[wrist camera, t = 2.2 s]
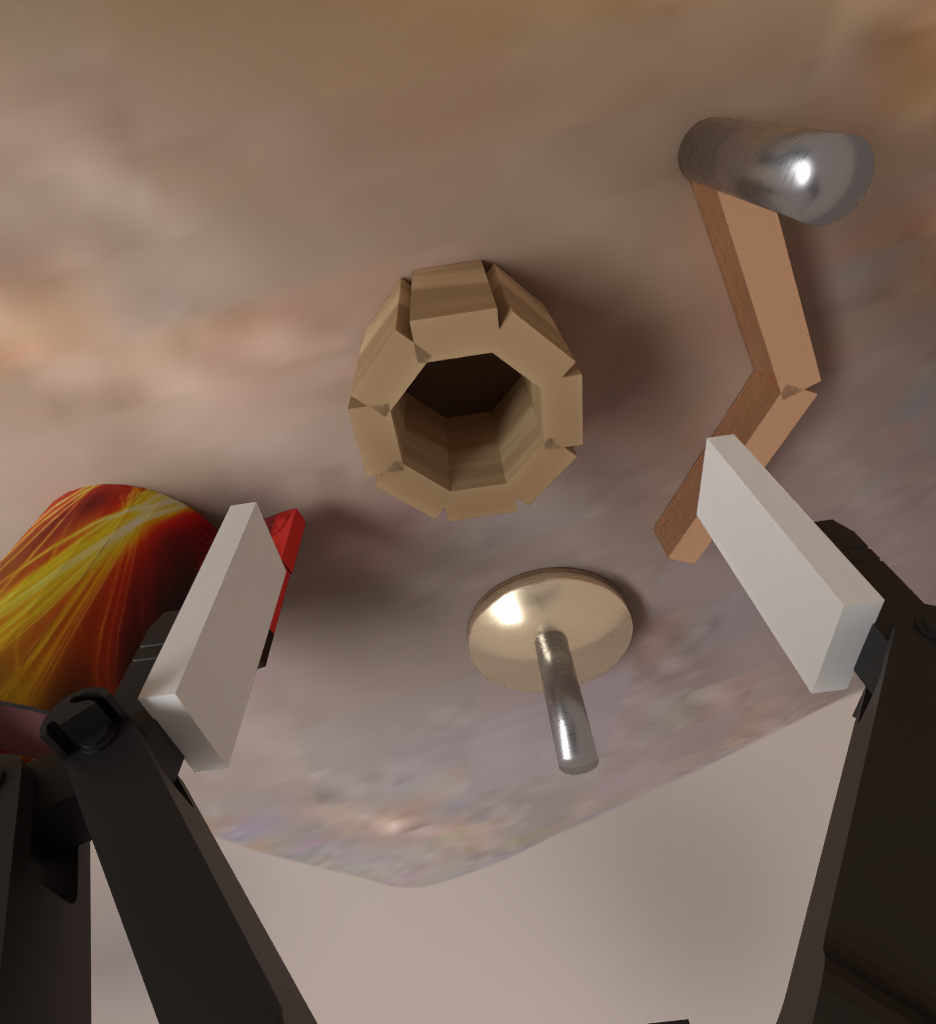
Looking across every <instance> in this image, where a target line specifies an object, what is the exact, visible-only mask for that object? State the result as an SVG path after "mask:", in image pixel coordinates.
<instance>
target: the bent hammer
mask: <svg viewBox="0 0 936 1024" xmlns="http://www.w3.org/2000/svg"><path fill="white" fill-rule="evenodd" d="M678 162H679V167H680V170H681V172H682V174H683V175H684V177H686V178H687V179H688V180H690V181H691V184H692V187H693V190H694V193H695V196H696V199H697V202H698V205H699V208H700V211H701V214H702V217H703V220H704V222H705V225H706V228H707V231H708V234H709V237H710V240H711V243H712V246H713V249H714V252H715V255H716V258H717V261H718V264H719V267H720V270H721V273H722V276H723V279H724V282H725V284H726V287H727V290H728V293H729V296H730V299H731V302H732V305H733V308H734V311H735V314H736V317H737V320H738V323H739V326H740V329H741V332H742V335H743V338H744V341H745V343H746V346H747V349H748V352H749V355H750V358H751V361H752V364H753V367H754V372H753V374H752V375H751V377H750V378H749V380H748V381H747V383H746V385H745V386H744V388H743V389H742V391H741V392H740V394H739V395H738V397H737V399H736V400H735V402H734V403H733V405H732V406H731V408H730V410H729V411H728V413H727V414H726V416H725V417H724V419H723V421H722V422H721V424H720V425H719V427H718V428H717V430H716V432H715V433H714V435H713V436H712V437H717V436H724V435H731V434H734V435H735V436H736V437H737V438H738V439H739V440H740V441H741V442H742V444H743V445H744V446H745V447H746V448H747V449H748V450H749V451H750V452H751V453H752V455H753V456H754V457H755V458H756V459H757V460H758V461H759V462H760V463H761V464H762V466H763V467H764V468H765V466H766V465H767V464H768V462H769V461H770V459H771V458H772V457H773V455H774V454H775V453H776V451H777V450H778V448H779V447H780V446H781V444H782V443H783V441H784V440H785V439H786V437H787V436H788V435H789V433H790V432H791V430H792V429H793V428H794V426H795V425H796V423H797V422H798V421H799V419H800V418H801V417H802V415H803V414H804V412H805V411H806V410H807V408H808V407H809V406H810V404H811V403H812V401H813V400H814V399H815V397H816V396H817V393H816V392H815V391H813V390H812V389H811V388H809V387H810V386H812V385H814V384H816V383H818V382H820V381H821V378H820V374H819V370H818V366H817V362H816V359H815V355H814V351H813V347H812V343H811V339H810V336H809V332H808V328H807V324H806V320H805V317H804V313H803V309H802V305H801V301H800V298H799V294H798V290H797V286H796V282H795V279H794V275H793V271H792V267H791V263H790V260H789V256H788V252H787V248H786V244H785V240H784V237H783V233H782V229H781V225H780V221H779V218H778V214H777V213H779V214H782V215H784V216H787V217H790V218H793V219H795V220H798V221H801V222H804V223H806V224H809V225H816V226H819V225H826V224H829V223H832V222H834V221H836V220H838V219H840V218H842V217H843V216H845V215H846V214H847V213H848V212H850V211H851V210H852V209H853V208H854V207H855V206H856V205H857V204H858V202H859V201H860V200H861V198H862V197H863V195H864V194H865V192H866V190H867V188H868V186H869V184H870V182H871V178H872V175H873V170H874V156H873V152H872V149H871V147H870V145H869V144H868V142H867V141H866V140H864V139H863V138H862V137H860V136H857V135H853V134H845V133H837V132H828V131H820V130H812V129H803V128H795V127H787V126H778V125H770V124H762V123H753V122H745V121H737V120H728V119H720V118H708V119H704V120H702V121H700V122H698V123H697V124H695V125H694V126H693V127H692V128H691V129H690V130H689V131H688V133H687V134H686V135H685V137H684V139H683V141H682V143H681V146H680V149H679V155H678ZM705 448H706V447H705ZM704 456H705V449H704V450H703V452H702V454H701V455H700V457H699V458H698V460H697V461H696V463H695V464H694V466H693V468H692V469H691V471H690V472H689V474H688V475H687V477H686V479H685V480H684V482H683V483H682V485H681V486H680V488H679V490H678V491H677V493H676V494H675V496H674V497H673V499H672V501H671V502H670V504H669V505H668V507H667V508H666V510H665V512H664V513H663V515H662V516H661V518H660V519H659V521H658V523H657V524H656V526H655V527H654V529H653V530H654V532H655V534H656V536H657V538H658V540H659V542H660V544H661V545H662V547H663V549H664V551H665V553H666V555H667V557H668V558H669V559H674V560H678V561H683V562H688V563H692V564H695V563H696V562H697V560H698V559H699V558H700V556H701V555H702V553H703V552H704V551H705V549H706V548H707V546H708V545H709V544H710V542H711V541H712V540H713V539H712V538H711V536H710V535H709V533H708V532H707V530H706V529H705V527H704V525H703V524H702V522H701V521H700V519H699V518H698V516H697V508H698V501H699V493H700V486H701V478H702V471H703V463H704Z"/></svg>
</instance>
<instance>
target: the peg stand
mask: <svg viewBox="0 0 936 1024" xmlns="http://www.w3.org/2000/svg"><path fill="white" fill-rule="evenodd" d="M632 633H633V623H632V619H631V615H630V613H629V610H628V608H627V605H626V603H625V600H624V598H623V596H622V594H621V593H620V592H619V590H618V589H617V588H616V587H615V586H614V585H613V584H612V583H610V582H609V581H607V580H606V579H605V578H603V577H601V576H599V575H597V574H594V573H591V572H588V571H584V570H579V569H573V568H546V569H539V570H534V571H530V572H526V573H523V574H520V575H517V576H515V577H512V578H510V579H508V580H506V581H504V582H502V583H501V584H499V585H498V586H496V587H495V588H493V589H492V590H491V591H489V592H488V593H487V594H486V595H485V596H484V597H483V598H482V599H481V600H480V601H479V602H478V604H477V605H476V607H475V608H474V610H473V612H472V614H471V616H470V619H469V623H468V642H469V653H470V656H471V660H472V662H473V663H474V665H475V667H476V668H477V669H478V671H479V672H480V673H481V674H483V675H484V676H485V677H486V678H488V679H489V680H491V681H492V682H494V683H496V684H498V685H501V686H503V687H506V688H509V689H513V690H518V691H524V692H544V694H545V699H546V704H547V709H548V714H549V719H550V724H551V729H552V734H553V739H554V744H555V749H556V754H557V759H558V764H559V769H560V770H561V771H562V772H564V773H566V774H571V775H578V774H584V773H587V772H589V771H591V770H593V769H595V768H596V767H597V765H598V763H599V759H598V755H597V752H596V748H595V744H594V740H593V736H592V732H591V729H590V725H589V721H588V717H587V713H586V709H585V706H584V702H583V698H582V694H581V690H580V686H579V685H581V684H584V683H586V682H588V681H590V680H593V679H594V678H596V677H598V676H600V675H601V674H603V673H604V672H606V671H607V670H609V669H610V668H611V667H612V666H614V665H615V664H616V663H617V662H618V661H619V660H620V659H621V657H622V656H623V655H624V653H625V652H626V650H627V648H628V646H629V644H630V641H631V639H632Z"/></svg>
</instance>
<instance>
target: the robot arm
mask: <svg viewBox="0 0 936 1024" xmlns="http://www.w3.org/2000/svg"><path fill="white" fill-rule="evenodd" d="M697 516H698V518H699V519H700V521H701V522H702V524H703V525H704V527H705V529H706V530H707V532H708V533H709V535H710V536H711V538H712V539H713V541H714V543H715V544H716V546H717V547H718V549H719V550H720V552H721V553H722V555H723V557H724V558H725V560H726V561H727V563H728V564H729V566H730V567H731V569H732V571H733V572H734V574H735V575H736V577H737V578H738V580H739V581H740V583H741V584H742V586H743V588H744V589H745V591H746V592H747V594H748V595H749V597H750V598H751V600H752V602H753V603H754V605H755V606H756V608H757V609H758V611H759V612H760V614H761V616H762V617H763V619H764V620H765V622H766V623H767V625H768V626H769V628H770V630H771V631H772V633H773V634H774V636H775V637H776V639H777V640H778V642H779V644H780V645H781V647H782V648H783V650H784V651H785V653H786V654H787V656H788V657H789V659H790V661H791V662H792V664H793V665H794V667H795V668H796V670H797V671H798V673H799V675H800V676H801V678H802V679H803V681H804V682H805V684H806V685H807V687H808V689H809V690H810V692H811V693H819V692H827V691H835V690H843V689H847V688H848V685H849V683H850V681H851V678H852V676H853V673H854V671H855V672H856V674H857V675H858V676H859V678H860V679H861V681H862V682H863V683H864V685H865V686H866V687H865V689H864V691H863V694H862V696H861V698H860V700H859V703H858V705H857V707H856V709H855V711H854V714H853V717H855V718H856V721H855V724H854V728H853V732H852V736H851V740H850V744H849V748H848V752H847V756H846V759H845V763H844V767H843V771H842V775H841V779H840V783H839V787H838V791H837V795H836V799H835V803H834V807H833V811H832V815H831V819H830V822H829V826H828V830H827V834H826V838H825V842H824V846H823V850H822V854H821V858H820V862H819V866H818V870H817V874H816V878H815V882H814V886H813V890H812V894H811V897H810V901H809V905H808V909H807V913H806V917H805V921H804V925H803V929H802V933H801V937H800V941H799V945H798V949H797V953H796V957H795V961H794V964H793V968H792V972H791V976H790V980H789V984H788V988H787V992H786V996H785V999H784V1003H783V1006H782V1009H781V1012H780V1015H779V1018H778V1020H777V1023H776V1024H936V606H933V605H928V604H924V603H923V602H922V601H921V600H920V599H919V598H918V597H917V596H916V595H915V594H914V593H913V592H912V591H911V589H910V588H909V587H908V586H907V585H906V584H905V583H904V582H903V581H902V580H901V579H900V578H899V577H898V576H897V575H896V574H895V573H894V572H893V571H892V570H891V569H890V568H889V567H888V566H887V565H886V564H885V563H884V562H883V561H880V558H879V557H878V556H877V555H876V554H875V553H874V552H873V551H872V550H871V549H868V546H867V545H866V544H865V543H864V542H863V541H862V540H861V538H860V537H859V536H858V535H857V534H856V533H855V532H854V531H852V530H850V529H848V528H847V527H845V526H843V525H841V524H839V523H838V522H836V521H834V520H825V521H818V522H813V521H812V520H811V518H810V517H809V516H808V515H807V514H806V513H805V512H804V511H803V510H802V509H801V507H800V506H799V505H798V504H797V503H796V502H795V501H794V500H793V499H792V498H791V496H790V495H789V494H788V493H787V492H786V491H785V490H784V489H783V488H782V487H781V485H780V484H779V483H778V482H777V481H776V480H775V479H774V478H773V477H772V476H771V474H770V473H769V472H768V471H767V470H766V469H765V468H764V467H763V466H762V464H761V463H760V462H759V461H758V460H757V459H756V458H755V457H754V456H753V455H752V453H751V452H750V451H749V450H748V449H747V448H746V447H745V446H744V445H743V444H742V442H741V441H740V440H739V439H738V438H737V437H736V436H735V435H734V434H731V435H724V436H717V437H710V438H707V441H706V448H705V456H704V463H703V471H702V478H701V486H700V493H699V501H698V508H697ZM285 574H286V570H285V567H284V565H283V563H282V560H281V558H280V556H279V553H278V551H277V549H276V546H275V544H274V542H273V539H272V537H271V535H270V533H269V530H268V528H267V526H266V523H265V521H264V519H263V516H262V514H261V512H260V509H259V507H258V505H257V502H252V503H245V504H238V505H231V506H230V508H229V510H228V512H227V514H226V516H225V518H224V521H223V523H222V525H221V527H220V529H219V531H218V533H217V535H216V537H215V539H214V541H213V543H212V545H211V547H210V550H209V552H208V554H207V556H206V558H205V560H204V562H203V564H202V566H201V568H200V570H199V572H198V574H197V577H196V579H195V581H194V583H193V585H192V587H191V589H190V591H189V593H188V595H187V597H186V599H185V601H184V603H183V606H182V608H181V610H176V611H169V612H164V613H163V614H162V615H161V616H160V617H159V618H158V620H157V621H156V622H155V623H154V624H153V625H152V626H151V627H150V628H149V629H148V631H147V633H146V635H145V637H144V639H143V640H142V642H141V644H140V649H138V650H137V652H136V654H135V656H134V658H133V659H132V660H133V663H130V665H129V667H128V669H127V671H126V673H125V675H124V677H123V679H122V680H121V682H120V684H119V686H118V688H117V690H116V692H115V694H114V696H113V695H112V694H111V693H110V692H109V691H108V690H107V689H105V688H102V687H90V688H86V689H81V690H79V691H77V692H75V693H73V694H71V695H69V696H67V697H66V698H65V699H63V700H62V701H61V702H59V703H58V704H57V705H55V706H54V708H53V709H52V710H51V711H50V712H49V713H48V714H47V715H46V716H45V718H44V720H43V722H42V724H41V726H40V738H41V739H42V740H43V741H44V742H45V743H46V744H47V745H48V746H49V747H50V748H51V749H52V750H53V751H54V753H52V754H49V755H47V756H44V757H42V758H39V759H37V760H34V761H32V762H29V763H27V764H26V763H25V762H24V761H22V760H21V759H20V758H19V757H17V756H16V755H14V754H0V1024H91V915H90V914H91V913H90V912H91V909H90V904H91V903H90V841H91V840H92V841H93V844H94V846H95V849H96V852H97V854H98V857H99V860H100V863H101V866H102V868H103V871H104V874H105V876H106V879H107V882H108V885H109V887H110V890H111V893H112V896H113V898H114V901H115V904H116V907H117V909H118V912H119V915H120V917H121V920H122V923H123V925H124V929H125V931H126V934H127V937H128V940H129V942H130V945H131V948H132V951H133V953H134V956H135V959H136V961H137V964H138V967H139V970H140V972H141V975H142V978H143V981H144V983H145V986H146V989H147V992H148V994H149V997H150V1000H151V1002H152V1005H153V1008H154V1011H155V1013H156V1016H157V1019H158V1022H159V1024H317V1022H316V1020H315V1019H314V1017H313V1015H312V1013H311V1011H310V1009H309V1008H308V1006H307V1004H306V1002H305V1001H304V999H303V997H302V995H301V993H300V991H299V990H298V988H297V986H296V984H295V982H294V981H293V979H292V977H291V975H290V973H289V972H288V970H287V968H286V966H285V964H284V963H283V961H282V959H281V957H280V956H279V954H278V952H277V950H276V948H275V946H274V945H273V943H272V941H271V939H270V937H269V936H268V934H267V932H266V930H265V928H264V927H263V925H262V923H261V921H260V919H259V918H258V916H257V914H256V912H255V910H254V909H253V907H252V905H251V903H250V902H249V900H248V898H247V896H246V894H245V892H244V891H243V889H242V887H241V885H240V883H239V882H238V880H237V878H236V876H235V874H234V873H233V871H232V869H231V867H230V865H229V864H228V862H227V860H226V858H225V856H224V855H223V853H222V851H221V849H220V847H219V845H218V844H217V842H216V840H215V838H214V836H213V835H212V833H211V831H210V829H209V827H208V826H207V824H206V822H205V820H204V818H203V817H202V815H201V813H200V811H199V809H198V808H197V806H196V804H195V802H194V800H193V799H192V797H191V795H190V793H189V791H188V790H187V788H186V786H185V784H184V782H183V781H182V780H181V779H180V777H179V776H178V773H179V770H180V768H181V765H182V762H183V760H184V759H185V760H186V762H187V763H188V764H189V765H190V767H191V768H192V769H193V771H194V772H200V771H208V770H216V769H224V768H228V765H229V762H230V759H231V755H232V752H233V748H234V745H235V742H236V738H237V735H238V732H239V728H240V725H241V722H242V718H243V715H244V712H245V708H246V705H247V702H248V698H249V695H250V691H251V688H252V685H253V681H254V678H255V675H256V671H257V668H258V665H259V661H260V658H261V655H262V651H263V648H264V645H265V641H266V638H267V634H268V631H269V628H270V624H271V621H272V618H273V614H274V611H275V608H276V604H277V601H278V598H279V594H280V591H281V587H282V584H283V581H284V577H285ZM650 1024H689V1020H688V1019H687V1020H677V1021H668V1022H659V1023H650Z"/></svg>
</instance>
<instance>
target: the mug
mask: <svg viewBox="0 0 936 1024" xmlns="http://www.w3.org/2000/svg"><path fill="white" fill-rule="evenodd" d="M264 521H265V523H266V526H267V528H268V530H269V533H270V535H271V537H272V539H273V542H274V544H275V546H276V549H277V551H278V553H279V556H280V558H281V560H282V563H283V565H284V567H285V570H286V574H285V577H284V581H283V584H282V587H281V591H280V594H279V598H278V601H277V604H276V608H275V611H274V614H273V618H272V621H271V624H270V628H269V631H268V634H267V638H266V641H265V645H264V648H263V651H262V655H261V658H260V661H259V665H258V668H257V669H259V668H262V667H265V666H266V663H267V659H268V655H269V651H270V648H271V644H272V640H273V636H274V633H275V629H276V625H277V622H278V618H279V614H280V610H281V607H282V603H283V599H284V595H285V592H286V588H287V584H288V581H289V577H290V574H292V573H293V569H294V565H295V561H296V558H297V554H298V550H299V546H300V542H301V539H302V535H303V531H304V527H305V523H306V522H305V520H304V519H303V517H302V516H301V514H300V513H299V511H298V510H297V508H294V509H291V510H287V511H284V512H281V513H278V514H276V515H274V516H271V517H269V518H266V519H264ZM217 533H218V531H217V530H216V528H215V527H214V526H213V525H212V524H211V523H210V522H208V521H207V520H206V519H205V518H204V517H203V516H202V515H201V514H199V513H198V512H196V511H194V510H193V509H191V508H190V507H188V506H187V505H185V504H184V503H182V502H179V501H177V500H175V499H173V498H171V497H169V496H167V495H164V494H161V493H158V492H155V491H151V490H148V489H145V488H140V487H134V486H128V485H113V484H101V485H94V486H87V487H82V488H79V489H77V490H74V491H71V492H68V493H66V494H64V495H63V496H61V497H60V498H58V499H57V500H55V501H54V502H53V503H52V504H51V505H50V506H49V507H48V508H47V510H46V511H45V512H44V513H43V514H42V515H41V516H40V517H39V519H38V520H37V521H36V522H35V523H34V524H33V525H32V527H31V528H30V529H29V530H28V531H27V532H26V533H25V535H24V536H23V537H22V538H21V539H20V540H19V541H18V542H17V544H16V545H15V546H14V547H13V548H12V549H11V550H10V552H9V553H8V554H7V555H6V556H5V557H4V558H3V560H2V561H1V562H0V754H14V755H16V756H17V757H19V758H20V759H21V760H22V761H24V762H25V763H26V764H27V763H29V762H32V761H34V760H37V759H39V758H42V757H44V756H47V755H49V754H52V753H54V751H53V750H52V749H51V748H50V747H49V746H48V745H47V744H46V743H45V742H44V741H43V740H42V739H41V738H40V726H41V724H42V722H43V720H44V718H45V716H46V715H47V714H48V713H49V712H50V711H51V710H52V709H53V708H54V706H55V705H57V704H58V703H59V702H61V701H62V700H63V699H65V698H66V697H67V696H69V695H71V694H73V693H75V692H77V691H79V690H81V689H86V688H90V687H102V688H105V689H107V690H108V691H109V692H110V693H111V694H112V695H113V696H114V694H115V692H116V690H117V688H118V686H119V684H120V682H121V680H122V679H123V677H124V675H125V673H126V671H127V669H128V667H129V665H130V663H133V660H132V659H133V658H134V656H135V654H136V652H137V650H138V649H140V644H141V642H142V640H143V639H144V637H145V635H146V633H147V631H148V629H149V628H150V627H151V626H152V625H153V624H154V623H155V622H156V621H157V620H158V618H159V617H160V616H161V615H162V614H163V613H164V612H169V611H176V610H181V608H182V606H183V603H184V601H185V599H186V597H187V595H188V593H189V591H190V589H191V587H192V585H193V583H194V581H195V579H196V577H197V574H198V572H199V570H200V568H201V566H202V564H203V562H204V560H205V558H206V556H207V554H208V552H209V550H210V547H211V545H212V543H213V541H214V539H215V537H216V535H217Z"/></svg>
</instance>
